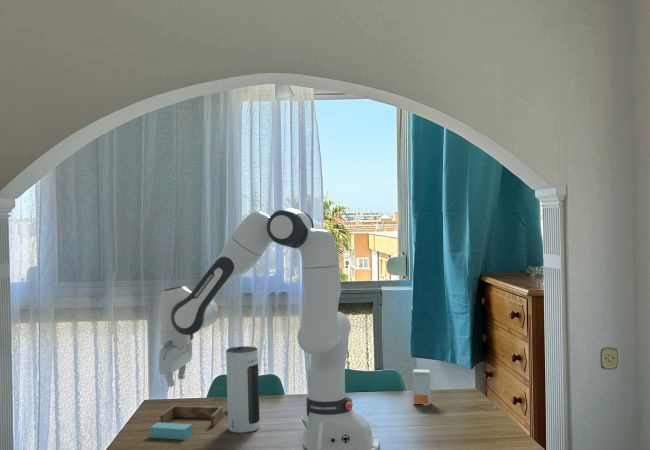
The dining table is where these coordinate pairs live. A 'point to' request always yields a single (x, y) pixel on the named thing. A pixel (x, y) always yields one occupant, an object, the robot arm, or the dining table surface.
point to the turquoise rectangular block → (171, 430)
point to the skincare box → (421, 387)
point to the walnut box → (193, 413)
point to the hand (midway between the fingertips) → (176, 382)
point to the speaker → (242, 389)
